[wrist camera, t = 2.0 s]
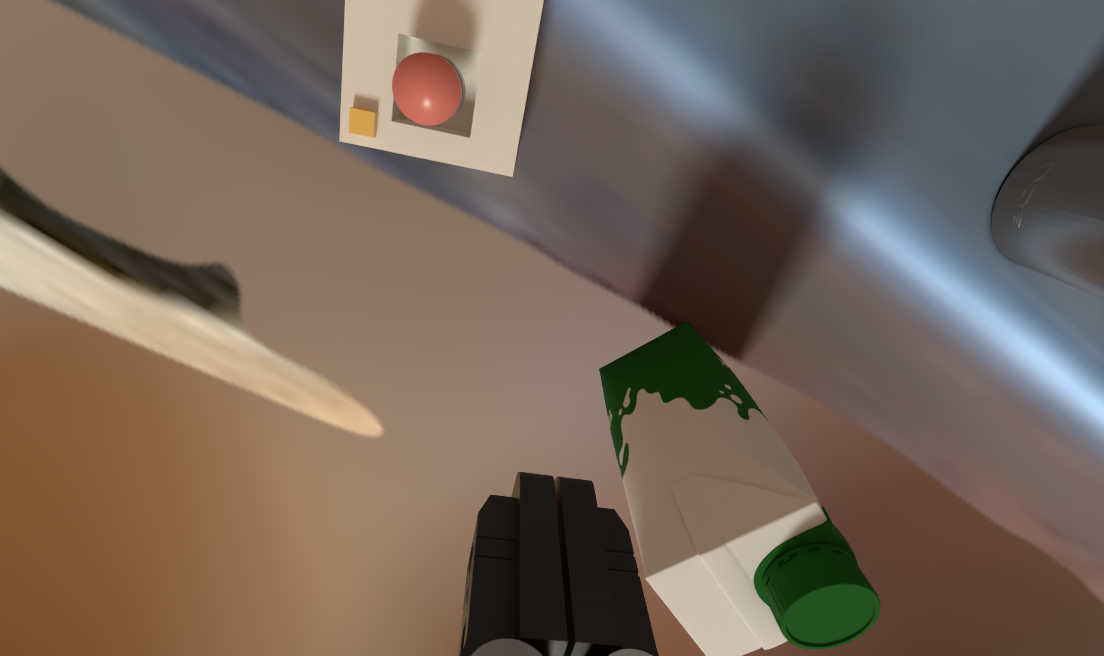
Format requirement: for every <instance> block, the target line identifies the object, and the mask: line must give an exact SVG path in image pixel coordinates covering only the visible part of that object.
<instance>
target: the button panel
mask: <svg viewBox="0 0 1104 656" xmlns="http://www.w3.org/2000/svg"><path fill="white" fill-rule="evenodd" d="M543 1H544V0H345V18H344V43H343V67H342V92H341V116H340V141H341V142H346V143H351V144H356V145H361V146H366V147H370V148H375V149H380V150H385V151H390V152H395V153H400V154H404V155H409V156H414V157H419V158H424V159H429V160H433V161H438V162H443V163H448V164H453V165H458V166H463V167H467V168H472V169H477V170H482V171H487V172H492V173H497V174H501V175H506V176H511V177H513V172H514V166H515V160H516V155H517V149H518V143H519V138H520V132H521V126H522V121H523V115H524V109H525V103H526V98H527V92H528V86H529V81H530V75H531V69H532V64H533V58H534V52H535V47H536V41H537V35H538V30H539V24H540V18H541V13H542V7H543ZM419 52H427V53H432V54H438V55H441V56H444V57H446V58H448V59H449V60H451V61H452V62H453V63H454V64H455V65H456V66H457V67H458V69H459V70H460V72H461V74H462V76H463V79H464V82H465V98H464V102H463V104H462V106H461V108H460V109H459V111H458V112H457V113H456V114H455V115H453V116H452V117H451V118H449V119H448V120H446V121H445V122H443V123H441V124H438V125H432V126H426V125H421V124H418V123H416V122H413V121H412V120H410V119H409V118H407V117H406V116H405V115H404V114H403V113H402V112H401V110H400V109H399V107H398V106H397V104H396V102H395V99H394V96H393V91H392V80H393V75H394V72H395V70H396V68H397V66H398V65H399V63H400V62H401V61H402V60H403V59H404V58H406V57H407V56H409V55H411V54H414V53H419Z"/></svg>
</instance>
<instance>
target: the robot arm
mask: <svg viewBox="0 0 1104 656" xmlns="http://www.w3.org/2000/svg"><path fill="white" fill-rule="evenodd" d="M991 231H992V236H993V240H994V243H995V245H996V247H997V248H998V250H999V252H1000V253H1001V254H1002V255H1003V256H1004V257H1005V258H1006V259H1008V260H1010V261H1012V262H1014V263H1016V264H1018V265H1021V266H1023V267H1026V268H1028V269H1031V270H1033V271H1036V272H1038V273H1041V274H1043V275H1046V276H1049V277H1051V278H1054V279H1056V280H1059V281H1061V282H1064V283H1066V284H1068V285H1071V286H1073V287H1076V288H1078V289H1081V290H1083V291H1086V292H1089V293H1091V294H1094V295H1096V296H1099V297H1101V298H1104V126H1103V125H1086V126H1082V127H1077V128H1072V129H1069V130H1067V131H1065V132H1062V133H1060V134H1057V135H1055V136H1053V137H1052V138H1050V139H1048V140H1047V141H1045V142H1044V143H1042V144H1040V145H1039V146H1038V147H1036V148H1035V149H1034V150H1033V151H1032V152H1030V153H1029V154H1028V155H1027V156H1026V157H1025V158H1024V159H1023V160H1022V161H1021V162H1020V163H1019V164H1018V165H1017V166H1016V168H1015V169H1014V170H1013V171H1012V172H1011V174H1010V175H1009V177H1008V178H1007V180H1006V181H1005V183H1004V184H1003V186H1002V188H1001V190H1000V192H999V195H998V197H997V199H996V201H995V205H994V209H993V213H992V222H991ZM633 554H634V551H633V547H632V543H631V539H630V534H629V530H628V529H627V527H626V526H625V524H624V523H623V521H622V520H621V518H620V517H619V516H618V514H617V513H616V511H615V510H614V509H607V508H598V507H597V501H596V495H595V490H594V485H593V482H592V481H589V480H581V479H573V478H565V477H557V478H556V479H555V481H554V478H553V476H548V475H541V474H533V473H525V472H518V474H517V476H516V480H515V485H514V489H513V493H512V497H505V496H497V495H490V496H489V498H488V499H487V501H486V502H485V504H484V505H483V507H482V508H481V510H480V511H479V513H478V517H477V522H476V527H475V532H474V537H473V542H472V547H471V553H470V557H469V562H468V568H467V578H466V587H465V597H464V606H463V615H462V625H461V635H460V645H459V654H458V656H659V655H658V652H657V648H656V644H655V640H654V636H653V632H652V627H651V623H650V619H649V615H648V611H647V606H646V602H645V598H644V594H643V589H642V585H641V581H640V577H639V576H638V568H637V564H636V560H635V557H634V556H633Z"/></svg>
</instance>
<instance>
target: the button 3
mask: <svg viewBox="0 0 1104 656" xmlns="http://www.w3.org/2000/svg"><path fill="white" fill-rule="evenodd" d="M392 91H393V96H394V99H395V102H396V104H397V106H398V107H399V109H400V110H401V112H402V113H403V114H404V115H405V116H406V117H407V118H409V119H410V120H412V121H413V122H416V123H418V124H421V125H426V126H432V125H438V124H441V123H443V122H445V121H446V120H448V119H449V118H451V117H452V116H453V115H455V114H456V113H457V112H458V111H459V109H460V108H461V106H462V104H463V102H464V98H465V82H464V79H463V76H462V74H461V72H460V70H459V69H458V67H457V66H456V65H455V64H454V63H453V62H452V61H451V60H449V59H448V58H446V57H444V56H441V55H438V54H432V53H427V52H419V53H414V54H411V55H409V56H407V57H406V58H404V59H403V60H402V61H401V62H400V63H399V65H398V66H397V68H396V70H395V72H394V75H393V80H392Z"/></svg>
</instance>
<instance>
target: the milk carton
mask: <svg viewBox="0 0 1104 656" xmlns="http://www.w3.org/2000/svg"><path fill="white" fill-rule="evenodd" d="M599 370H600V375H601V381H602V386H603V392H604V398H605V403H606V409H607V414H608V419H609V425H610V430H611V435H612V440H613V444H614V448H615V452H616V456H617V460H618V464H619V468H620V472H621V476H622V480H623V484H624V488H625V492H626V496H627V500H628V504H629V508H630V512H631V516H632V521H633V524H634V529H635V532H636V536H637V540H638V544H639V549H640V553H641V558H642V563H643V568H644V572H645V579H646V580H647V581H648V582H649V584H650V585H651V586H652V588H653V589H654V590H655V591H656V593H657V594H658V595H659V596H660V598H661V599H662V600H663V602H664V603H665V604H666V605H667V607H668V608H669V609H670V610H671V612H672V613H673V614H674V616H675V617H676V618H677V619H678V621H679V622H680V623H681V624H682V626H683V627H684V628H685V629H686V631H687V632H688V633H689V635H690V636H691V637H692V638H693V640H694V641H695V642H696V643H697V644H698V646H699V647H700V649H701V650H702V651H703V652H704V653H705V655H706V656H742V655H744V654H747V653H749V652H751V651H754V650H756V649H759V648H761V647H763V649H765V650H766V649H770V648H773V647H775V646H778V645H780V644H782V643H785V642H786V641H787V640H788V641H789V642H790V643H792V644H794V645H796V646H799V647H802V648H806V649H828V648H833V647H837V646H840V645H843V644H846V643H848V642H850V641H852V640H854V639H856V638H858V637H859V636H861V635H862V634H864V633H865V632H866V631H867V630H868V629H869V628H870V627H871V626H872V625H873V624H874V623H875V621H876V620H877V618H878V616H879V613H880V600H879V598H878V595H877V593H876V592H875V590H874V589H873V587H872V586H871V585H870V583H869V582H868V580H867V579H866V577H865V576H864V574H863V573H862V571H861V570H860V568H859V566H858V564H857V561H856V558H855V555H854V553H853V551H852V549H851V547H850V545H849V544H848V542H847V540H846V539H845V538H844V536H843V535H842V534H841V533H840V532H839V530H838V529H837V528H836V527H835V526H834V525H833V523H832V521H831V520H830V518H829V516H828V514H827V512H826V510H825V508H824V507H821V506H820V504H819V502H818V500H817V498H816V496H815V494H814V493H813V491H812V489H811V487H810V485H809V483H808V481H807V479H806V477H805V475H804V474H803V472H802V470H801V469H800V467H799V465H798V464H797V462H796V460H795V459H794V457H793V456H792V454H791V453H790V452H789V450H788V448H787V447H786V446H785V444H784V443H783V442H782V440H781V439H780V437H779V436H778V434H777V433H776V431H775V430H774V429H773V427H772V426H771V424H770V423H769V422H768V420H767V419H766V417H765V416H764V415H763V413H762V412H761V410H760V409H759V407H758V406H757V405H756V403H755V402H754V400H753V399H752V398H751V396H750V395H749V393H748V392H747V391H746V389H745V388H744V386H743V385H742V384H741V383H740V381H739V380H738V378H737V377H736V376H735V374H734V373H733V372H732V371H731V369H730V368H729V367H728V366H727V365H726V364H725V363H724V362H723V360H722V359H721V358H720V357H719V356H718V355H717V354H716V353H715V352H714V351H713V350H712V349H711V347H710V346H709V345H708V344H707V343H706V342H705V341H704V340H703V339H702V338H701V337H700V335H699V334H698V333H697V332H696V331H695V330H694V329H693V328H692V327H691V326H690V325H689V323H688V322H685V323H683V324H681V325H679V326H677V327H676V328H674V329H672V330H670V331H668V332H666V333H665V334H663V335H661V336H659V337H658V338H655V339H654V340H652V341H650V342H648V343H646V344H645V345H643V346H641V347H639V348H637V349H635V350H634V351H632V352H630V353H628V354H626V355H624V356H622V357H620V358H619V359H617V360H615V361H613V362H611V363H610V364H608V365H606V366H604V367H602V368H600V369H599Z"/></svg>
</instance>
